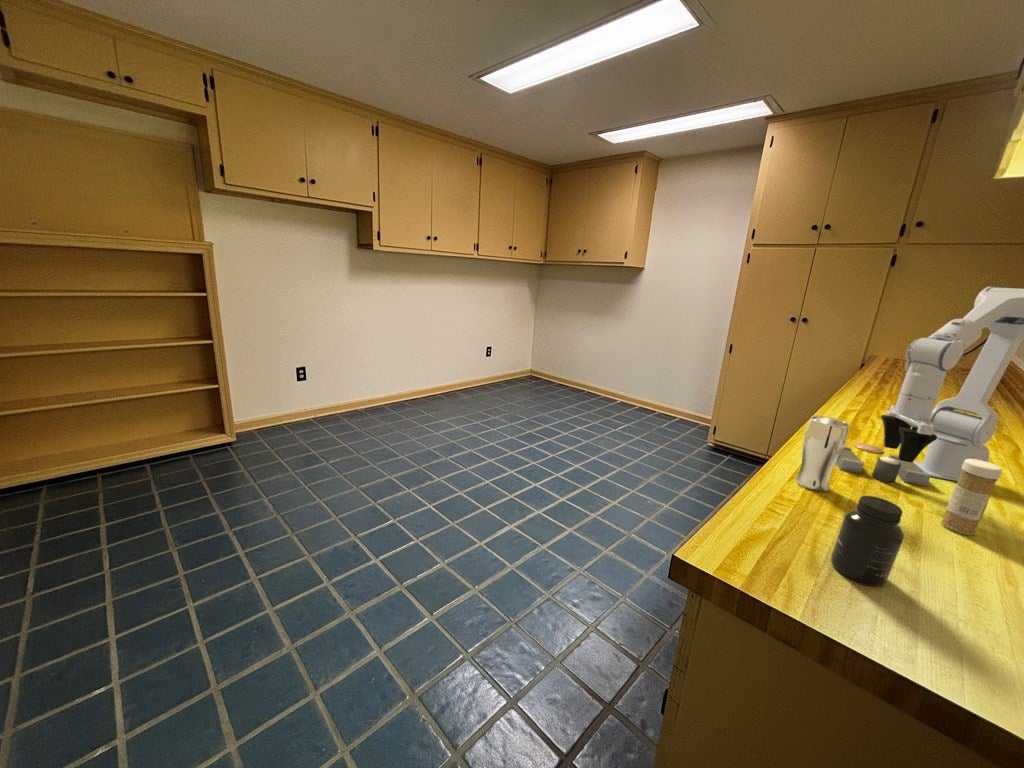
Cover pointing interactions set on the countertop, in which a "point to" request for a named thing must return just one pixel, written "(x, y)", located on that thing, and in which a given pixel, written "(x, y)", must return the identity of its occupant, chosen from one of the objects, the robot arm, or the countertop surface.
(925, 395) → the robot arm
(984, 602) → the countertop surface
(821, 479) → the beer glass
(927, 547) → the countertop surface
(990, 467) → the sprinkles bottle
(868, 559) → the supplement bottle
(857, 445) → the coaster
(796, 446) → the countertop surface
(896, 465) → the grey short cylinder
